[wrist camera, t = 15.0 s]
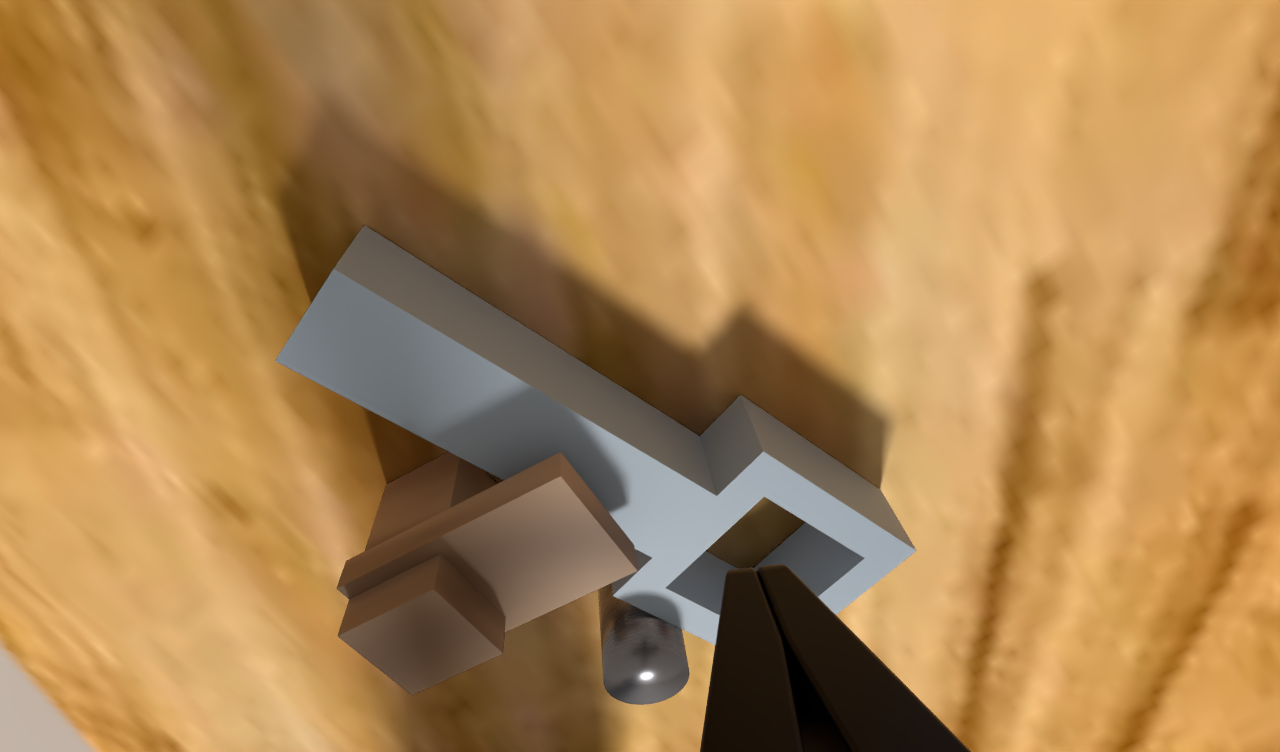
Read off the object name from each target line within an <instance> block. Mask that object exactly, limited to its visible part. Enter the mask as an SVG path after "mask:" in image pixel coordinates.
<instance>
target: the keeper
mask: <svg viewBox="0 0 1280 752" xmlns="http://www.w3.org/2000/svg"><path fill="white" fill-rule="evenodd" d="M636 571H637V563H636V555H635V547H634V544H633V543H632V542H631V540H630V539H629V538H628V536H627V535H626V534H625V533H624V531H623V530H622V529H621V528H620V526H619V525H618V524H617V523H616V521H615V520H614V519H613V517H612V516H611V515H610V514H609V512H608V511H607V510H606V509H605V507H604V506H603V505H602V504H601V502H600V501H599V500H598V499H597V497H596V496H595V495H594V493H593V492H592V491H591V490H590V488H589V487H588V486H587V485H586V483H585V482H584V481H583V480H582V478H581V477H580V476H579V474H578V473H577V472H576V471H575V469H574V468H573V467H572V466H571V464H570V463H569V462H568V461H567V459H566V458H565V457H564V455H563V454H562V453H561V452H559V453H557V454H555V455H553V456H551V457H549V458H547V459H545V460H544V461H542V462H540V463H538V464H536V465H534V466H532V467H530V468H528V469H526V470H524V471H522V472H520V473H518V474H516V475H514V476H512V477H510V478H508V479H506V480H504V481H502V482H500V483H498V484H496V482H495V481H494V480H493V479H492V478H491V477H490V476H489V474H488V473H487V472H486V471H485V470H483V469H481V468H479V467H477V466H475V465H473V464H472V463H470V462H468V461H466V460H464V459H462V458H460V457H458V456H456V455H454V454H452V453H450V452H447V453H445V454H443V455H441V456H440V457H438V458H436V459H434V460H432V461H430V462H428V463H426V464H424V465H422V466H421V467H419V468H417V469H415V470H413V471H411V472H409V473H407V474H405V475H403V476H402V477H400V478H398V479H396V480H394V481H392V482H390V483H388V484H386V487H385V490H384V493H383V496H382V499H381V502H380V505H379V508H378V512H377V515H376V518H375V521H374V524H373V527H372V530H371V533H370V536H369V540H368V543H367V546H366V549H365V552H363V553H361V554H359V555H357V556H355V557H353V558H351V559H349V560H347V561H346V563H345V566H344V569H343V571H342V574H341V577H340V580H339V583H338V586H337V590H339V591H340V592H341V593H342V594H343V595H345V596H346V597H347V598H348V599H349V602H348V605H347V608H346V611H345V614H344V617H343V620H342V624H341V627H340V630H339V633H338V637H339V638H340V639H342V640H343V641H344V642H345V643H347V644H348V645H349V646H350V647H352V648H353V649H354V650H356V651H357V652H358V653H359V654H361V655H362V656H363V657H364V658H366V659H367V660H368V661H369V662H371V663H372V664H373V665H374V666H376V667H377V668H378V669H379V670H381V671H382V672H383V673H384V674H386V675H387V676H388V677H390V678H391V679H392V680H393V681H395V682H396V683H397V684H398V685H400V686H401V687H402V688H403V689H405V690H406V691H407V692H408V693H410V694H411V695H414V694H416V693H418V692H420V691H423V690H425V689H427V688H429V687H431V686H434V685H436V684H438V683H440V682H442V681H444V680H447V679H449V678H451V677H453V676H455V675H458V674H460V673H462V672H464V671H466V670H468V669H471V668H473V667H475V666H477V665H479V664H481V663H484V662H486V661H488V660H490V659H492V658H495V657H497V656H499V655H501V654H503V648H504V635H505V632H507V631H509V630H511V629H514V628H516V627H518V626H520V625H522V624H524V623H527V622H529V621H531V620H533V619H535V618H537V617H539V616H542V615H544V614H546V613H548V612H550V611H552V610H555V609H557V608H559V607H561V606H563V605H565V604H567V603H570V602H572V601H574V600H576V599H578V598H580V597H583V596H585V595H587V594H589V593H591V592H593V591H595V590H598V589H600V588H602V587H604V586H606V585H608V584H611V583H613V582H615V581H617V580H619V579H621V578H623V577H626V576H628V575H630V574H632V573H634V572H636Z"/></svg>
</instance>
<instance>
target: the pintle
mask: <svg viewBox="0 0 1280 752" xmlns="http://www.w3.org/2000/svg"><path fill="white" fill-rule="evenodd" d="M598 597H599V614H600V630H601V647H602V664H603V681H604V686H605V689H606V690H607V692H608V693H609V694H610V695H611V696H612V697H614V698H615V699H617V700H619V701H622V702H625V703H629V704H640V705H643V704H652V703H657V702H660V701H664V700H666V699H668V698H670V697H672V696H674V695H675V694H677V693H678V692H679V691H680V690H681V689H682V688H683V687H684V686H685V685H686V683H687V681H688V678H689V667H688V662H687V656H686V650H685V645H684V639H683V634H682V629H681V628H679V627H677V626H675V625H673V624H670V623H668V622H666V621H664V620H662V619H660V618H658V617H656V616H654V615H652V614H650V613H648V612H646V611H643V610H641V609H639V608H637V607H635V606H633V605H631V604H629V603H627V602H625V601H623V600H621V599H618V598H616V597H614V596H613V592H612V583H611V584H608V585H606V586H604V587H602V588H600V589H598Z"/></svg>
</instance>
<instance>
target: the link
mask: <svg viewBox="0 0 1280 752" xmlns="http://www.w3.org/2000/svg"><path fill="white" fill-rule="evenodd" d="M275 361H276V362H278V363H280V364H282V365H284V366H286V367H287V368H289V369H291V370H293V371H295V372H297V373H299V374H301V375H303V376H305V377H307V378H309V379H310V380H312V381H314V382H316V383H318V384H320V385H322V386H324V387H326V388H328V389H330V390H332V391H333V392H335V393H337V394H339V395H341V396H343V397H345V398H347V399H349V400H351V401H353V402H355V403H356V404H358V405H360V406H362V407H364V408H366V409H368V410H370V411H372V412H374V413H376V414H378V415H380V416H381V417H383V418H385V419H387V420H389V421H391V422H393V423H395V424H397V425H399V426H401V427H403V428H404V429H406V430H408V431H410V432H412V433H414V434H416V435H418V436H420V437H422V438H424V439H426V440H427V441H429V442H431V443H433V444H435V445H437V446H439V447H441V448H443V449H445V450H447V451H449V452H450V453H452V454H454V455H456V456H458V457H460V458H462V459H464V460H466V461H468V462H470V463H472V464H473V465H475V466H477V467H479V468H481V469H483V470H485V471H487V472H489V473H491V474H493V475H495V476H496V477H498V478H500V479H502V480H506V479H508V478H510V477H512V476H514V475H516V474H518V473H520V472H522V471H524V470H526V469H528V468H530V467H532V466H534V465H536V464H538V463H540V462H542V461H544V460H545V459H547V458H549V457H551V456H553V455H555V454H557V453H559V452H561V453H562V454H563V455H564V457H565V458H566V459H567V461H568V462H569V463H570V464H571V466H572V467H573V468H574V469H575V471H576V472H577V473H578V474H579V476H580V477H581V478H582V480H583V481H584V482H585V483H586V485H587V486H588V487H589V488H590V490H591V491H592V492H593V493H594V495H595V496H596V497H597V499H598V500H599V501H600V502H601V504H602V505H603V506H604V507H605V509H606V510H607V511H608V512H609V514H610V515H611V516H612V517H613V519H614V520H615V521H616V523H617V524H618V525H619V526H620V528H621V529H622V530H623V531H624V533H625V534H626V535H627V536H628V538H629V539H630V540H631V542H632V543H633V544H634V547H635V555H636V563H637V571H636V572H634V573H632V574H630V575H628V576H626V577H623V578H621V579H619V580H617V581H615V582H613V583H612V592H613V596H614V597H616V598H618V599H621V600H623V601H625V602H627V603H629V604H631V605H633V606H635V607H637V608H639V609H641V610H643V611H646V612H648V613H650V614H652V615H654V616H656V617H658V618H660V619H662V620H664V621H666V622H668V623H670V624H673V625H675V626H677V627H679V628H681V629H683V630H685V631H687V632H689V633H691V634H693V635H695V636H698V637H700V638H702V639H704V640H706V641H708V642H710V643H712V644H714V645H715V644H716V637H717V630H718V623H719V616H720V610H721V603H722V596H723V589H724V582H725V576H726V573H727V571H728V570H732V569H738V568H736V567H734V566H732V565H730V564H729V563H727V562H725V561H723V560H721V559H719V558H718V557H716V556H714V555H712V554H710V553H708V552H707V551H706V550H707V549H708V548H709V547H710V546H711V545H712V544H713V543H715V542H716V541H717V540H718V539H719V538H720V537H721V536H722V535H723V534H724V533H725V532H726V531H728V530H729V529H730V528H731V527H732V526H733V525H734V524H735V523H736V522H737V521H738V520H739V519H740V518H742V517H743V516H744V515H745V514H746V513H747V512H748V511H749V510H750V509H751V508H752V507H753V506H755V505H756V504H757V503H758V502H759V501H760V500H761V499H762V498H763V497H766V498H767V499H769V500H771V501H772V502H774V503H776V504H777V505H779V506H780V507H782V508H784V509H785V510H787V511H789V512H790V513H792V514H794V515H795V516H797V517H798V518H800V519H802V520H803V521H805V523H804V524H803V525H802V526H801V527H800V528H798V529H797V530H796V531H795V532H794V533H793V534H792V535H790V536H789V537H788V538H787V539H786V540H785V541H784V542H783V543H781V544H780V545H779V546H778V547H777V548H776V549H775V550H773V551H772V552H771V553H770V554H769V555H768V556H767V557H765V558H764V559H763V560H762V561H761V562H760V563H759V564H758V565H756V566H755V567H754V569H755V570H756V569H757V568H758V567H760V566H766V565H774V564H784V565H786V566H788V567H789V568H790V569H791V570H792V571H793V572H794V573H795V574H796V575H797V576H798V577H799V578H800V579H801V580H802V581H803V582H804V583H805V584H806V585H807V586H808V587H809V588H810V589H811V590H812V591H813V592H814V593H815V594H816V595H817V596H818V597H819V599H820V600H821V601H822V602H823V603H824V604H825V605H826V606H827V607H828V608H829V609H830V610H831V611H832V612H833V613H834V614H835V615H837V614H838V613H839V612H840V611H842V610H843V609H844V608H845V607H847V606H848V605H849V604H850V603H852V602H853V601H854V600H855V599H857V598H858V597H859V596H860V595H862V594H863V593H864V592H865V591H867V590H868V589H869V588H870V587H872V586H873V585H874V584H875V583H877V582H878V581H879V580H880V579H882V578H883V577H884V576H885V575H887V574H888V573H889V572H890V571H892V570H893V569H894V568H895V567H897V566H898V565H899V564H900V563H902V562H903V561H904V560H905V559H907V558H908V557H909V556H910V555H912V554H913V553H914V552H915V551H916V549H915V547H914V546H913V544H912V542H911V541H910V539H909V537H908V536H907V534H906V532H905V530H904V529H903V527H902V525H901V524H900V522H899V520H898V519H897V517H896V515H895V513H894V512H893V510H892V508H891V507H890V505H889V503H888V502H887V500H886V498H885V496H884V495H883V493H882V491H881V490H880V489H878V488H877V487H876V486H874V485H873V484H871V483H870V482H868V481H867V480H865V479H864V478H862V477H861V476H859V475H858V474H856V473H855V472H853V471H852V470H851V469H849V468H848V467H846V466H845V465H843V464H842V463H840V462H839V461H837V460H836V459H834V458H833V457H831V456H830V455H829V454H827V453H826V452H824V451H823V450H821V449H820V448H818V447H817V446H815V445H814V444H812V443H811V442H809V441H808V440H806V439H805V438H804V437H802V436H801V435H799V434H798V433H796V432H795V431H793V430H792V429H790V428H789V427H787V426H786V425H784V424H783V423H782V422H780V421H779V420H777V419H776V418H774V417H773V416H771V415H770V414H768V413H767V412H765V411H764V410H762V409H761V408H760V407H758V406H757V405H755V404H754V403H752V402H751V401H749V400H748V399H746V398H745V397H743V396H742V395H740V396H739V397H738V398H737V399H736V400H735V401H734V402H733V403H732V404H731V405H730V406H729V407H728V408H727V409H726V410H725V411H724V412H723V413H722V414H721V415H720V416H719V417H718V418H717V419H716V420H715V421H714V422H713V423H712V424H711V425H710V426H709V427H708V428H707V429H706V430H705V431H704V432H703V434H702V435H701V436H699V435H697V434H695V433H694V432H692V431H691V430H689V429H688V428H686V427H684V426H683V425H681V424H680V423H678V422H676V421H675V420H673V419H672V418H670V417H668V416H667V415H665V414H664V413H662V412H661V411H659V410H657V409H656V408H654V407H653V406H651V405H649V404H648V403H646V402H645V401H643V400H641V399H640V398H638V397H637V396H635V395H634V394H632V393H630V392H629V391H627V390H626V389H624V388H622V387H621V386H619V385H618V384H616V383H614V382H613V381H611V380H610V379H608V378H607V377H605V376H603V375H602V374H600V373H599V372H597V371H595V370H594V369H592V368H591V367H589V366H587V365H586V364H584V363H583V362H581V361H580V360H578V359H576V358H575V357H573V356H572V355H570V354H568V353H567V352H565V351H564V350H562V349H560V348H559V347H557V346H556V345H554V344H553V343H551V342H549V341H548V340H546V339H545V338H543V337H541V336H540V335H538V334H537V333H535V332H533V331H532V330H530V329H529V328H527V327H526V326H524V325H522V324H521V323H519V322H518V321H516V320H514V319H513V318H511V317H510V316H508V315H506V314H505V313H503V312H502V311H500V310H499V309H497V308H495V307H494V306H492V305H491V304H489V303H487V302H486V301H484V300H483V299H481V298H479V297H478V296H476V295H475V294H473V293H472V292H470V291H468V290H467V289H465V288H464V287H462V286H460V285H459V284H457V283H456V282H454V281H452V280H451V279H449V278H448V277H446V276H445V275H443V274H441V273H440V272H438V271H437V270H435V269H433V268H432V267H430V266H429V265H427V264H425V263H424V262H422V261H421V260H419V259H418V258H416V257H414V256H413V255H411V254H410V253H408V252H406V251H405V250H403V249H402V248H400V247H398V246H397V245H395V244H394V243H392V242H391V241H389V240H387V239H386V238H384V237H383V236H381V235H379V234H378V233H376V232H375V231H373V230H371V229H370V228H368V227H367V226H365V225H364V226H363V227H362V229H361V230H360V231H359V233H358V234H357V236H356V237H355V239H354V240H353V241H352V243H351V244H350V246H349V247H348V249H347V250H346V252H345V253H344V254H343V256H342V257H341V259H340V260H339V262H338V263H337V264H336V266H335V267H334V269H333V270H332V272H331V273H330V275H329V277H328V278H327V280H326V281H325V283H324V284H323V286H322V288H321V289H320V291H319V292H318V294H317V296H316V297H315V299H314V300H313V302H312V303H311V305H310V307H309V308H308V310H307V311H306V313H305V314H304V316H303V318H302V319H301V321H300V322H299V324H298V325H297V327H296V329H295V330H294V332H293V333H292V335H291V336H290V338H289V340H288V341H287V343H286V344H285V346H284V347H283V349H282V351H281V352H280V354H279V355H278V357H277V359H276V360H275Z"/></svg>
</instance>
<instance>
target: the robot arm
mask: <svg viewBox="0 0 1280 752" xmlns="http://www.w3.org/2000/svg"><path fill="white" fill-rule="evenodd" d="M700 752H971V751H970V750H969V749H968V748H967V747H966V746H965V745H964V744H963V743H962V742H961V741H960V740H959V739H958V738H957V737H956V736H955V735H954V734H953V733H952V732H951V731H950V730H949V729H948V728H947V727H946V726H945V725H944V724H943V723H942V722H941V721H940V720H939V719H938V718H937V717H936V716H935V715H934V714H933V713H932V712H931V711H930V710H929V709H928V708H927V707H926V706H925V705H924V704H923V703H922V702H921V701H920V700H919V699H918V698H917V696H916V695H915V694H914V693H913V692H912V691H911V690H910V689H909V688H908V687H907V686H906V685H905V684H904V683H903V682H902V681H901V680H900V679H899V678H898V677H897V676H896V675H895V674H894V673H893V672H892V671H891V670H890V669H889V668H888V667H887V666H886V665H885V664H884V663H883V662H882V661H881V660H880V659H879V658H878V657H877V656H876V655H875V654H874V653H873V652H872V651H871V650H870V649H869V648H868V647H867V646H866V645H865V644H864V643H863V642H862V641H861V640H860V639H859V638H858V637H857V636H856V635H855V634H854V633H853V632H852V631H851V630H850V629H849V628H848V627H847V626H846V625H845V624H844V623H843V622H842V621H841V620H840V619H839V618H838V617H837V616H836V615H835V614H834V613H833V612H832V611H831V610H830V609H829V608H828V607H827V606H826V605H825V604H824V603H823V602H822V601H821V600H820V599H819V597H818V596H817V595H816V594H815V593H814V592H813V591H812V590H811V589H810V588H809V587H808V586H807V585H806V584H805V583H804V582H803V581H802V580H801V579H800V578H799V577H798V576H797V575H796V574H795V573H794V572H793V571H792V570H791V569H790V568H789V567H788V566H786V565H784V564H774V565H766V566H760V567H758V568H757V569H756V570H755V569H754V568H751V567H749V568H740V569H732V570H728V571H727V573H726V576H725V582H724V589H723V596H722V603H721V610H720V616H719V623H718V630H717V637H716V644H715V651H714V658H713V665H712V672H711V679H710V686H709V693H708V700H707V707H706V714H705V721H704V727H703V734H702V741H701V748H700Z"/></svg>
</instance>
